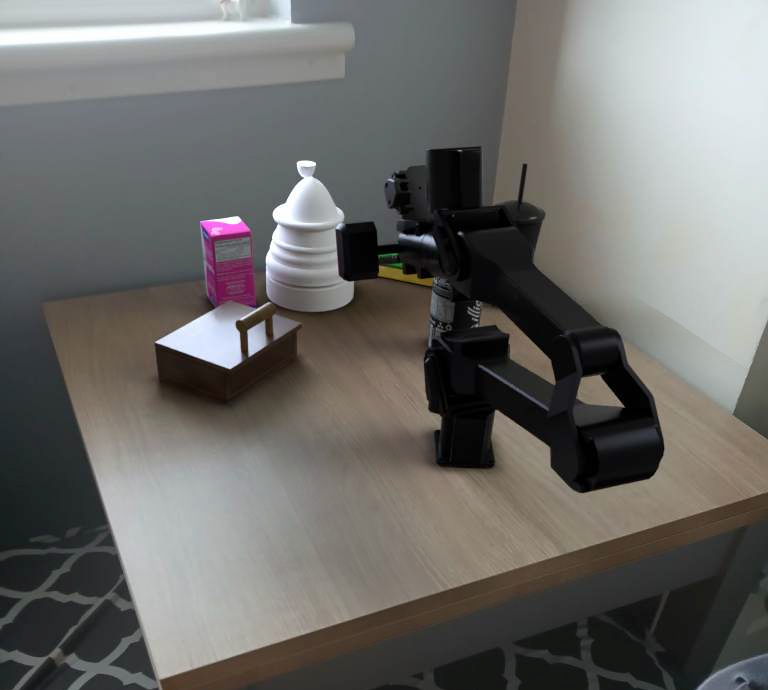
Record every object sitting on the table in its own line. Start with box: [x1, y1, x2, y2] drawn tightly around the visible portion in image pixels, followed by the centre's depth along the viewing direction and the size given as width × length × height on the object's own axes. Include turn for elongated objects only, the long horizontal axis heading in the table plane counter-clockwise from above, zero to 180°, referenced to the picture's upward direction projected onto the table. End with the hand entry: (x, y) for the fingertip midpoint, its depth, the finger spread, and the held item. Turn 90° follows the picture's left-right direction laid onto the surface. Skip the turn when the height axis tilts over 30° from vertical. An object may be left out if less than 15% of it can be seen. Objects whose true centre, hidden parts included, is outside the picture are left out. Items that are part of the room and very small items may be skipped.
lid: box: [154, 300, 303, 374], centre depth 107 cm, size 11×15×5 cm
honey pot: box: [265, 160, 355, 313], centre depth 125 cm, size 13×13×18 cm
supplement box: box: [199, 215, 257, 309], centre depth 122 cm, size 6×6×12 cm
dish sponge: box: [378, 253, 433, 288], centre depth 137 cm, size 7×14×2 cm, turn 70°
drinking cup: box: [492, 163, 547, 308], centre depth 125 cm, size 8×8×20 cm
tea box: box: [154, 331, 298, 405], centre depth 110 cm, size 11×15×4 cm
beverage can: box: [426, 277, 483, 348], centre depth 115 cm, size 7×7×12 cm
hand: (389, 239), depth 108 cm, fingers open, 9 cm apart
